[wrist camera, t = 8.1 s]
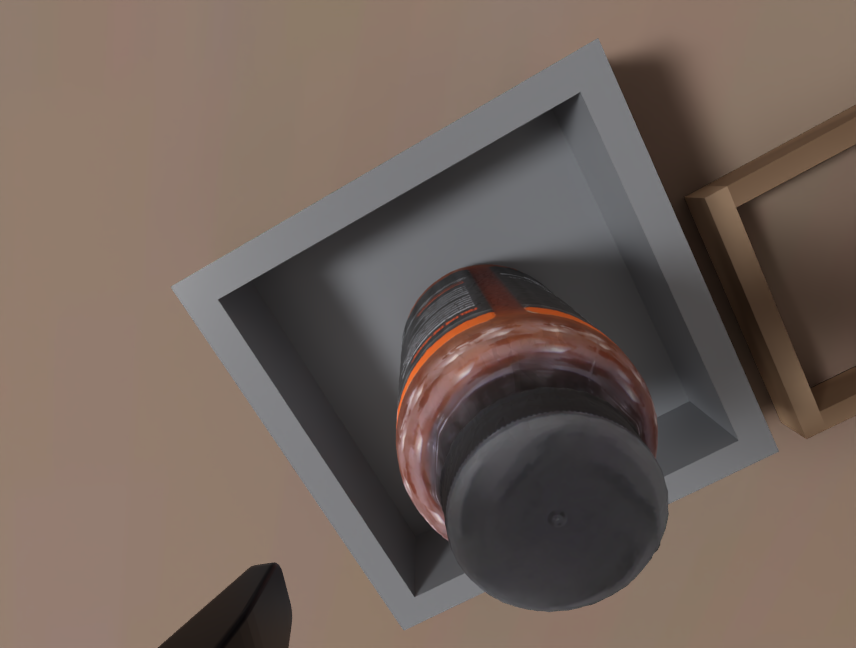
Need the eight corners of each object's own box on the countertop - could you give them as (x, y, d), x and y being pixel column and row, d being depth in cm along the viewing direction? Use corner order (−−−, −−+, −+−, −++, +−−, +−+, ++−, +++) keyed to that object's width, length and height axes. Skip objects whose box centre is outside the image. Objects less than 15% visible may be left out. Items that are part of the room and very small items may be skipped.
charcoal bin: (715, 404, 22) (778, 451, 18) (406, 557, 23) (403, 630, 20) (561, 68, 19) (598, 38, 15) (218, 267, 20) (170, 286, 17)
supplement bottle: (381, 389, 21) (340, 613, 10) (431, 238, 20) (446, 306, 9) (529, 434, 22) (643, 693, 11) (588, 290, 20) (788, 416, 9)
